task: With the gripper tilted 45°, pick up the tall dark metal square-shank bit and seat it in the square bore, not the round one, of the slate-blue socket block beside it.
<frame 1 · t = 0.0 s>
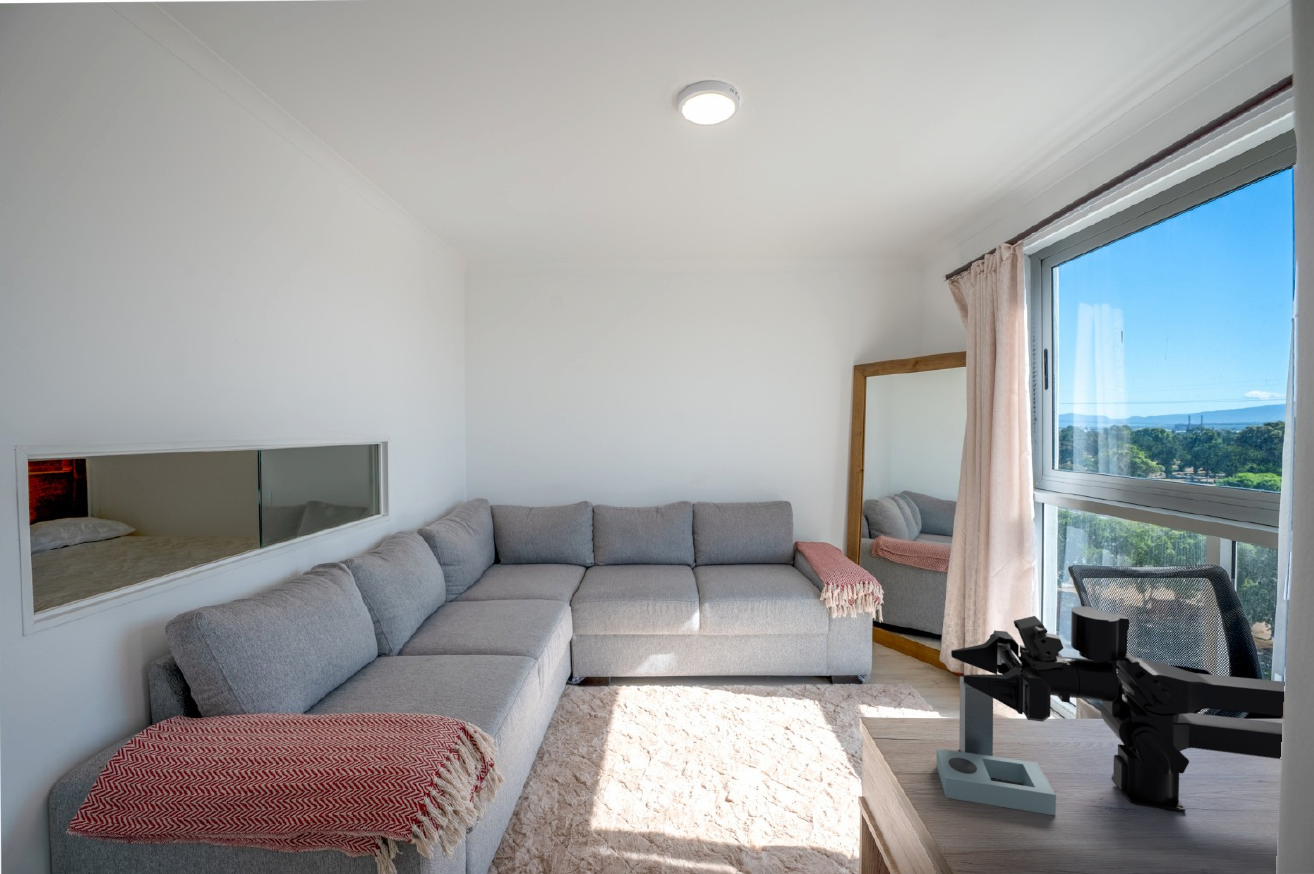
hand: (957, 665, 91), 16 cm above the table, tool horizontal, fingers open, 9 cm apart
square bit: (975, 757, 94), on the table
socket block: (992, 789, 86), on the table
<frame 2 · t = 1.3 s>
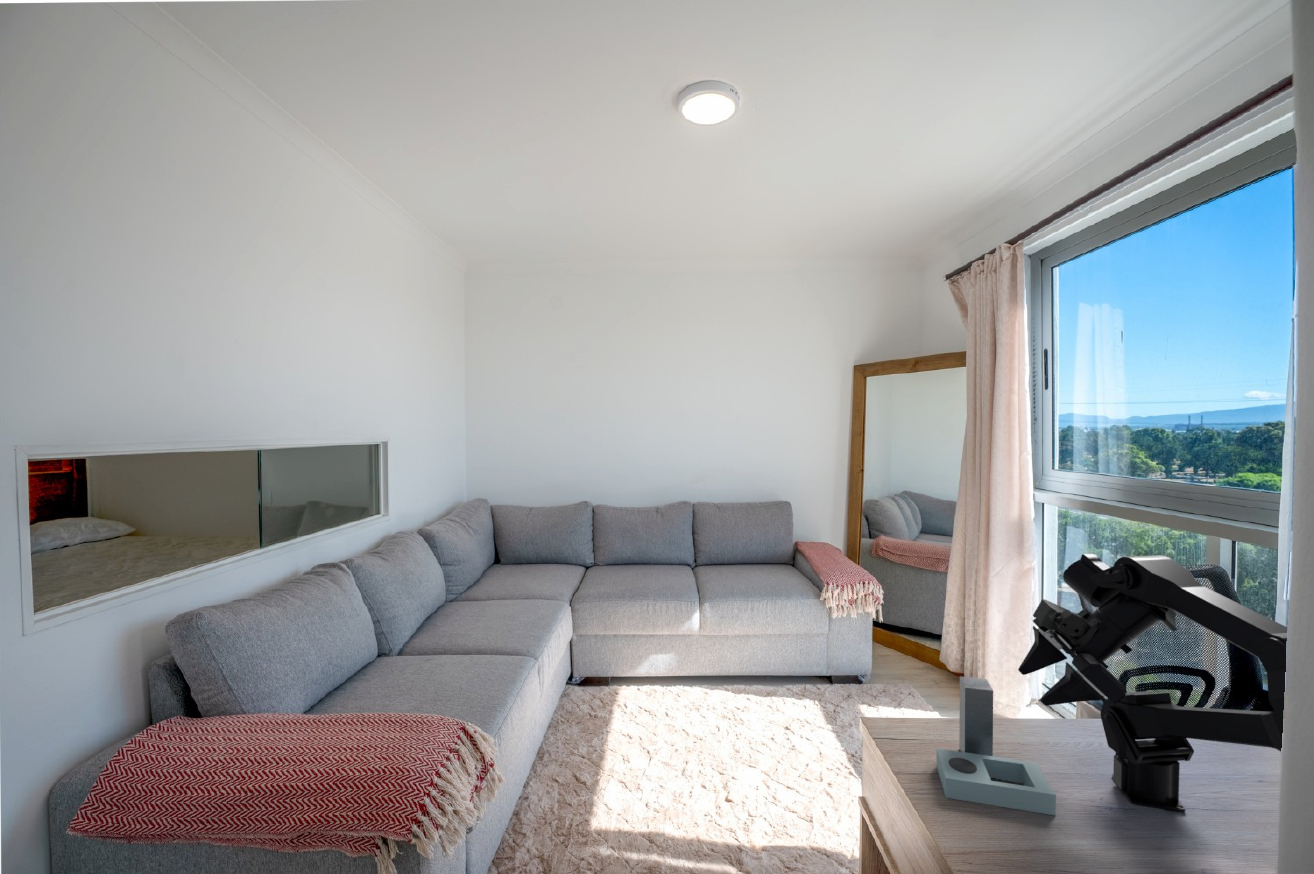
hand: (1031, 686, 91), 13 cm above the table, tool tilted 45°, fingers open, 9 cm apart
nothing on the table moved.
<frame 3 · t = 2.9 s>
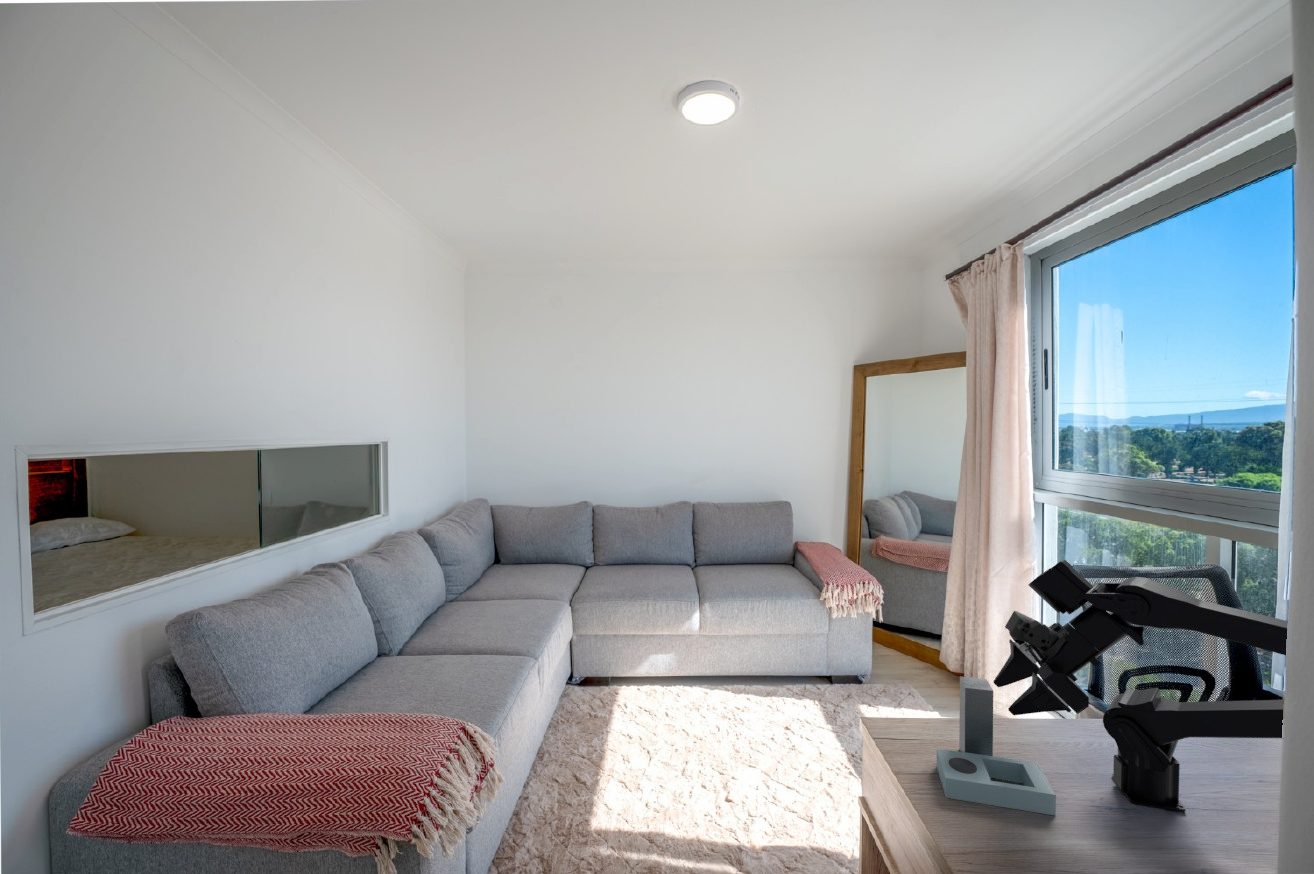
hand: (1002, 697, 92), 10 cm above the table, tool tilted 45°, fingers open, 9 cm apart
nothing on the table moved.
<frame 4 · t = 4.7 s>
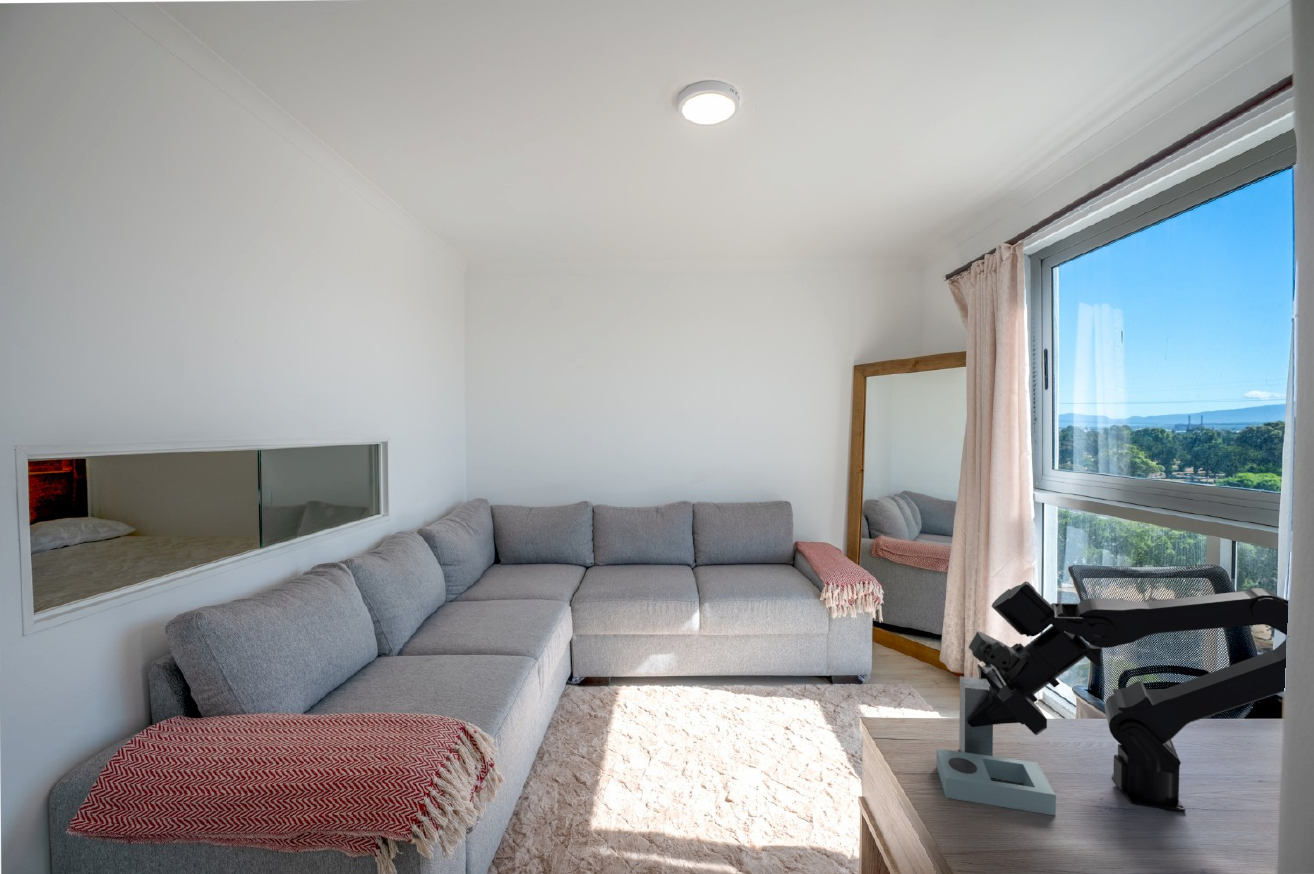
hand: (966, 717, 94), 7 cm above the table, tool tilted 45°, fingers closed on square bit, 4 cm apart
square bit: (975, 757, 94), on the table, touching gripper
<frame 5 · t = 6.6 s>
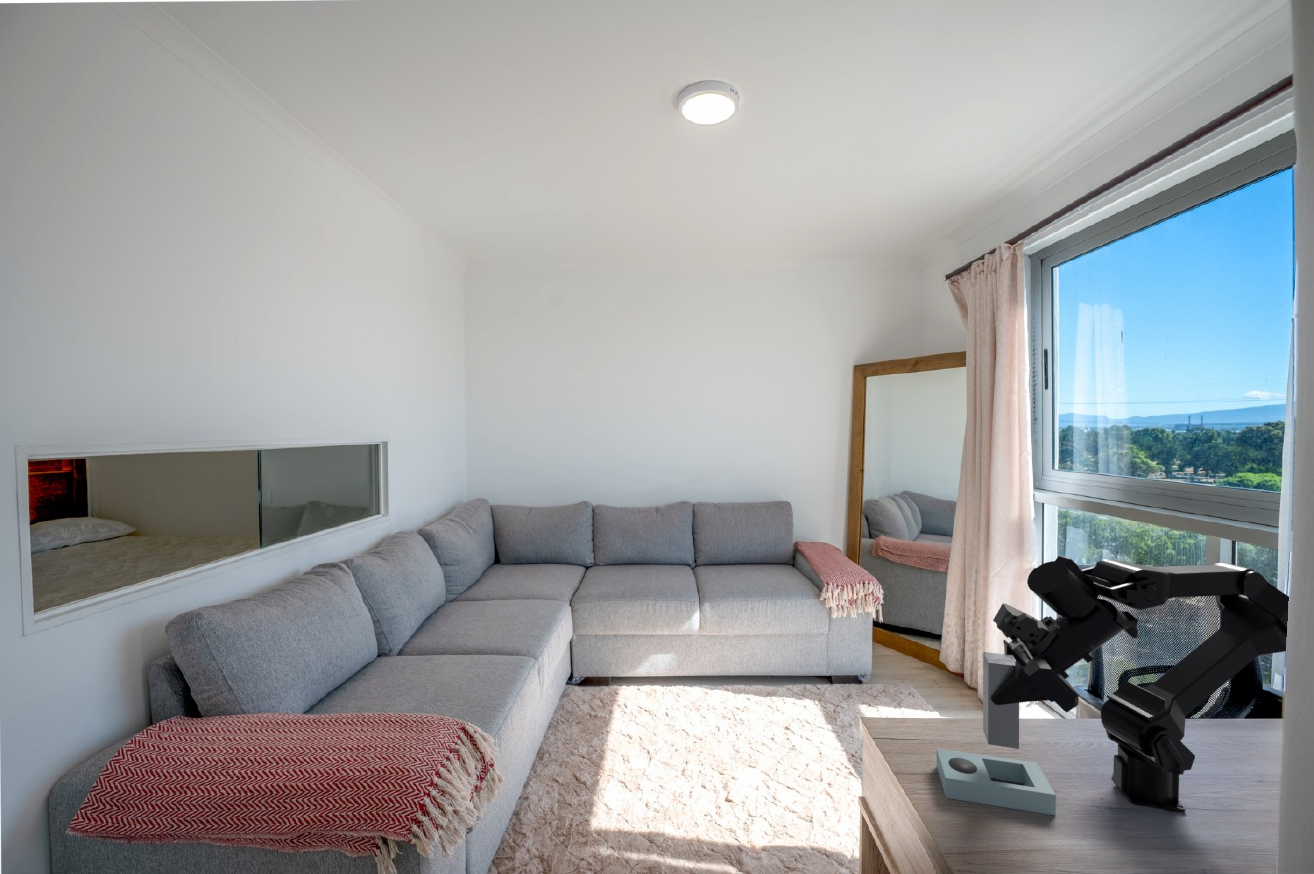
hand: (990, 695, 87), 14 cm above the table, tool tilted 45°, fingers closed on square bit, 4 cm apart
square bit: (1000, 739, 87), point 7 cm above the table, touching gripper
when the fingers open (7 cm above the table, at t = 8.8 s): square bit stays where it is, resting in socket block.
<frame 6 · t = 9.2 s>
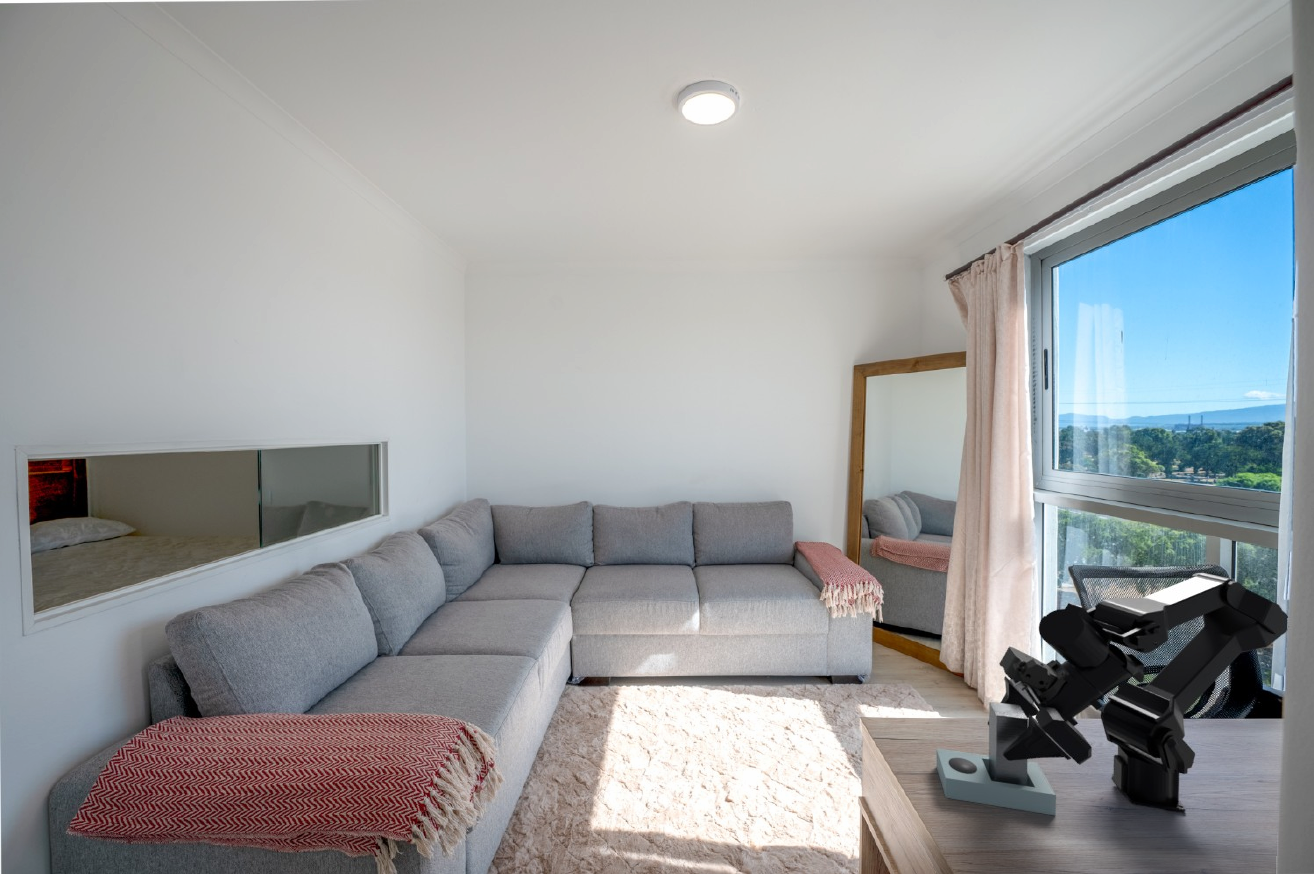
hand: (997, 741, 85), 8 cm above the table, tool tilted 45°, fingers open, 8 cm apart
square bit: (1007, 791, 85), resting in socket block
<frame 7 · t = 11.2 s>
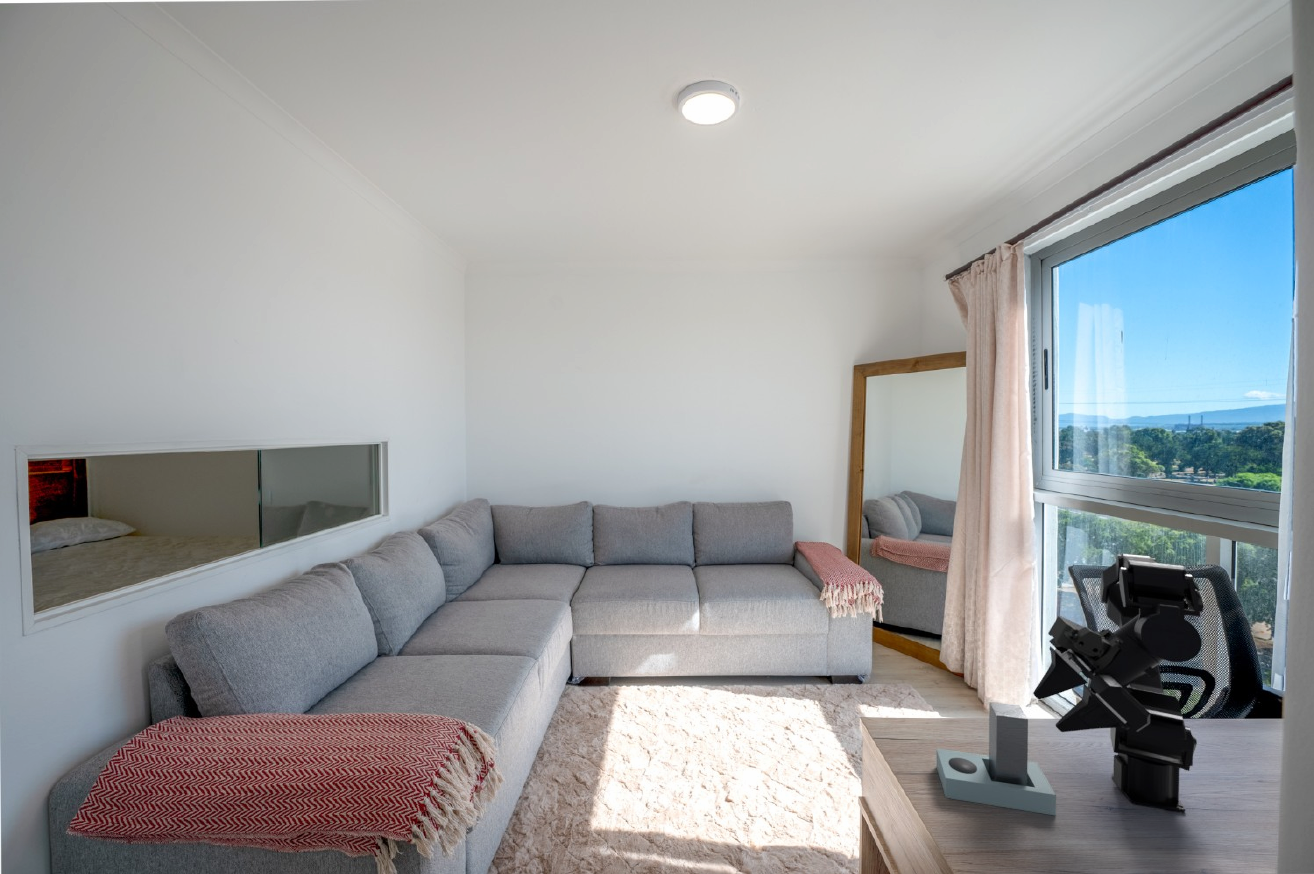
hand: (1046, 711, 84), 13 cm above the table, tool tilted 45°, fingers open, 9 cm apart
nothing on the table moved.
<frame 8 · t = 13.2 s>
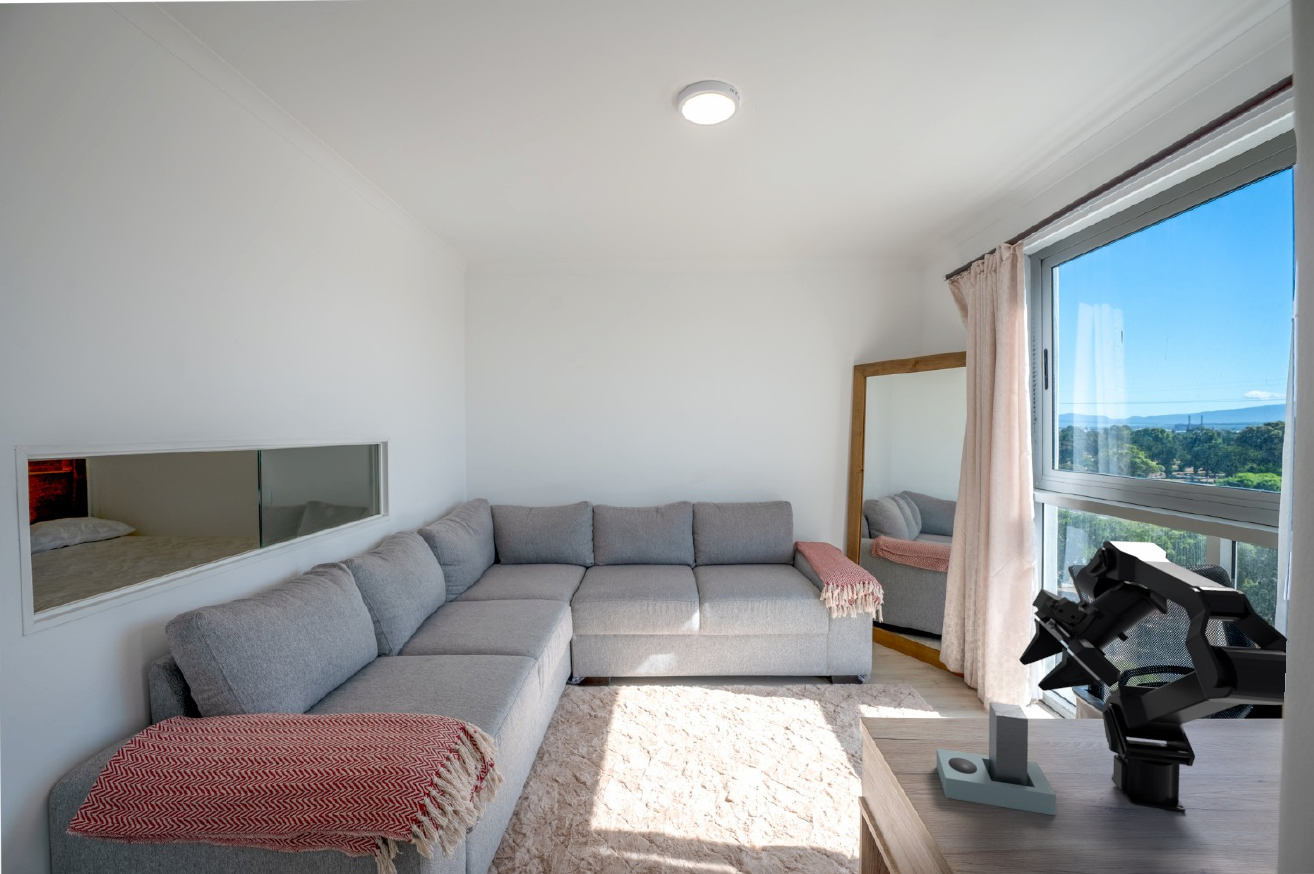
hand: (1030, 674, 93), 14 cm above the table, tool tilted 45°, fingers open, 9 cm apart
nothing on the table moved.
at the end: square bit 0.1 cm from the target spot on the socket block, point 0.0 cm above the socket block's base; square bit tilted 0°; the gripper is holding nothing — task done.
